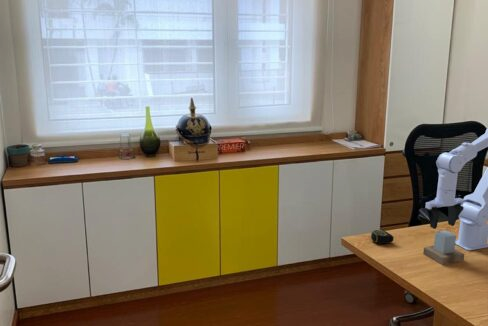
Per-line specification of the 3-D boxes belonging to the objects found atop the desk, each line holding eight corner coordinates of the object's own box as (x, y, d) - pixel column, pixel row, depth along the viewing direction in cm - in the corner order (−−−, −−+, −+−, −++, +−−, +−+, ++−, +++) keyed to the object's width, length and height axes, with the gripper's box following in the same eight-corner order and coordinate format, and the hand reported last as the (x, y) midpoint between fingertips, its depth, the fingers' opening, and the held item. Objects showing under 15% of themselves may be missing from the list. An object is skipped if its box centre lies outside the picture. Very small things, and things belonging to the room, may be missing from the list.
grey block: (444, 246, 168) (446, 230, 167) (454, 252, 164) (456, 235, 162) (433, 248, 167) (435, 232, 165) (443, 253, 162) (445, 237, 161)
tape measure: (394, 244, 176) (394, 234, 175) (377, 246, 174) (378, 236, 173) (383, 237, 182) (384, 228, 181) (367, 239, 180) (367, 229, 179)
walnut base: (443, 251, 171) (444, 243, 171) (463, 262, 163) (464, 253, 162) (423, 255, 168) (423, 247, 168) (441, 266, 160) (442, 258, 159)
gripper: (454, 183, 170) (450, 219, 174) (421, 187, 166) (417, 224, 169) (470, 189, 164) (465, 226, 167) (435, 193, 159) (431, 232, 162)
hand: (442, 226), depth 168 cm, fingers open, 7 cm apart
